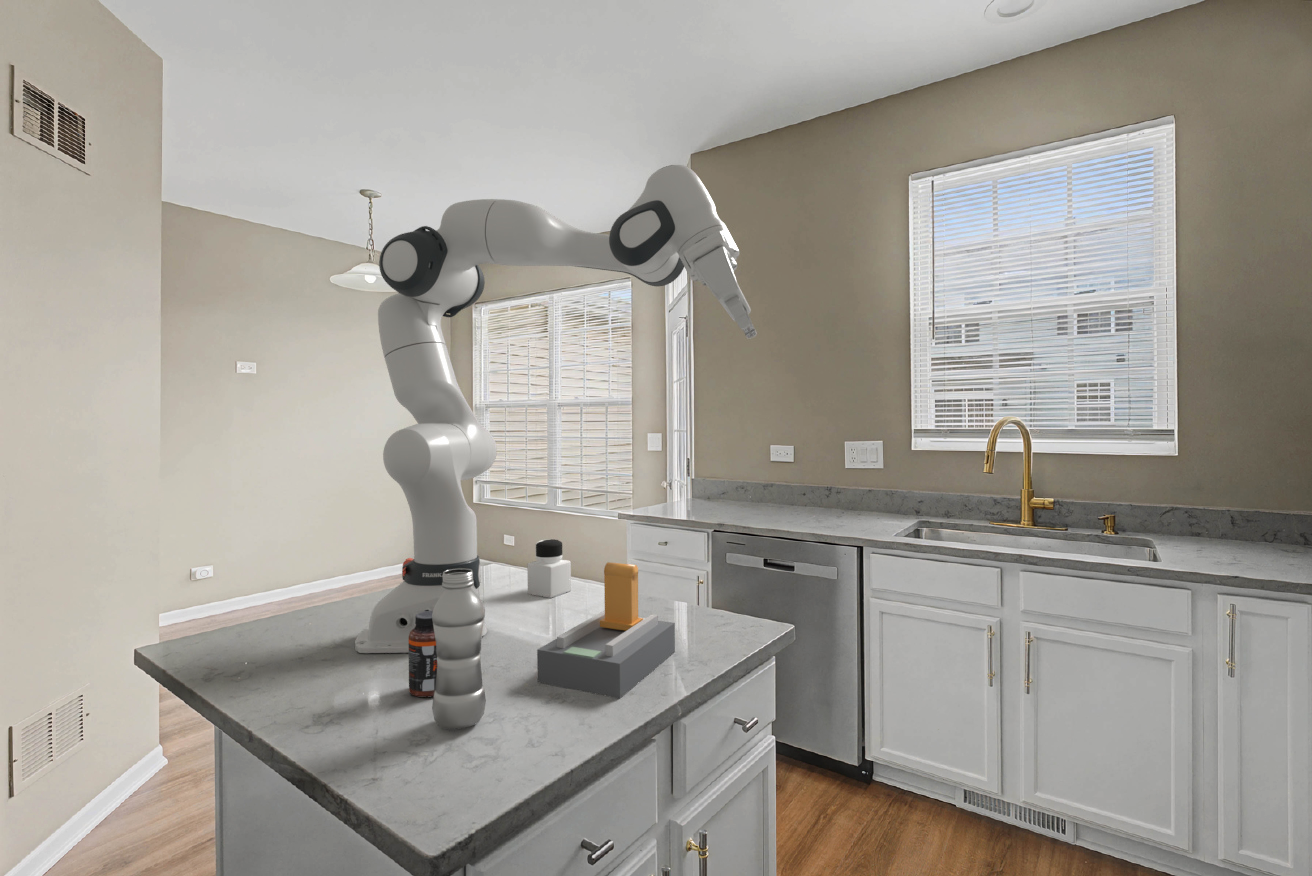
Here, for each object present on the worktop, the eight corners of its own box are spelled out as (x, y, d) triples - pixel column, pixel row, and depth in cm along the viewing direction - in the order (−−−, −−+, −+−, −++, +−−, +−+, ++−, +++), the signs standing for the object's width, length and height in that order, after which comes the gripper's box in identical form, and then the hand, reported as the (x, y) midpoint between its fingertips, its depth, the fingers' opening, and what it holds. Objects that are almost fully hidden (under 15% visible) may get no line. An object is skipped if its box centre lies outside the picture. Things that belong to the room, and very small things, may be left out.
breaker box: (602, 640, 116) (602, 604, 116) (674, 652, 110) (674, 613, 110) (537, 682, 98) (537, 639, 97) (620, 698, 92) (619, 652, 92)
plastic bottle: (439, 714, 87) (436, 566, 87) (490, 711, 88) (488, 565, 87) (426, 737, 81) (423, 578, 80) (481, 735, 81) (479, 577, 81)
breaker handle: (611, 619, 110) (610, 559, 110) (643, 624, 108) (642, 562, 108) (599, 626, 107) (599, 564, 106) (632, 631, 104) (631, 567, 104)
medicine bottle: (571, 591, 149) (571, 539, 149) (550, 598, 143) (550, 544, 143) (548, 587, 153) (547, 536, 153) (527, 594, 147) (526, 541, 147)
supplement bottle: (438, 700, 91) (437, 621, 91) (400, 697, 93) (399, 619, 92) (459, 683, 97) (458, 609, 97) (423, 680, 99) (422, 607, 98)
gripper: (704, 281, 115) (739, 350, 114) (680, 250, 95) (722, 332, 94) (736, 263, 114) (772, 332, 112) (718, 227, 94) (762, 310, 93)
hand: (749, 332), depth 103 cm, fingers open, 8 cm apart
